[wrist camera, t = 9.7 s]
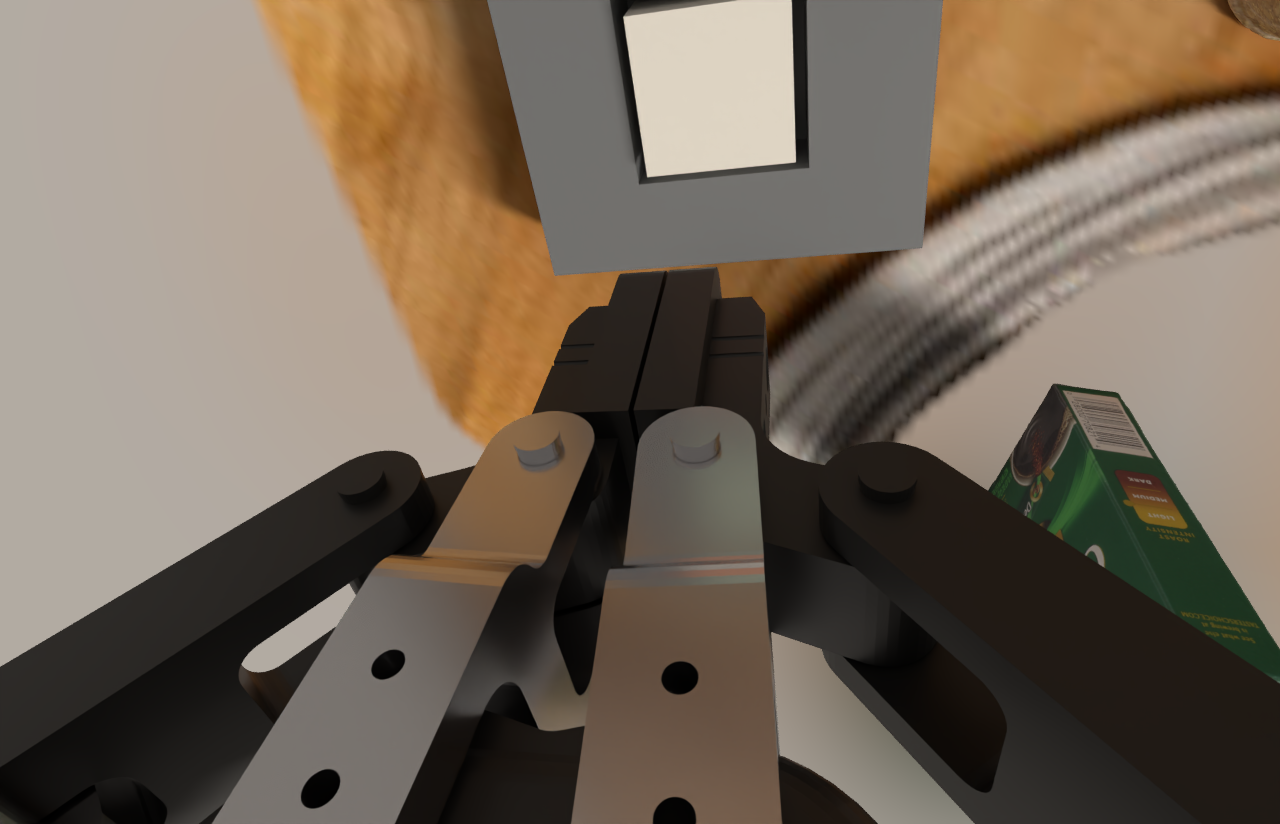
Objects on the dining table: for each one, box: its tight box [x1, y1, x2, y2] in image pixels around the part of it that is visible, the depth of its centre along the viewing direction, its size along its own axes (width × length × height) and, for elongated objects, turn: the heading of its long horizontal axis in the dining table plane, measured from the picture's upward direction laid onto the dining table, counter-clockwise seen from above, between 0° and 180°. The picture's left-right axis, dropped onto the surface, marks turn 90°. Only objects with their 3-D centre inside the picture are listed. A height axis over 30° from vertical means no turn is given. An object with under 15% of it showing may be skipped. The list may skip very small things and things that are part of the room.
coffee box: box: [988, 384, 1280, 683], centre depth 26 cm, size 8×3×13 cm, turn 173°
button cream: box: [623, 0, 796, 177], centre depth 22 cm, size 4×4×3 cm
